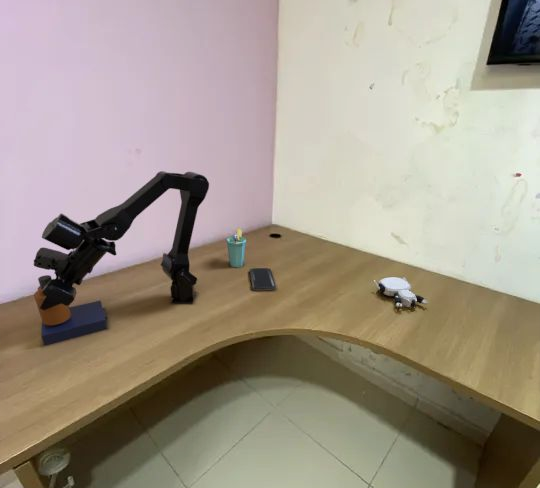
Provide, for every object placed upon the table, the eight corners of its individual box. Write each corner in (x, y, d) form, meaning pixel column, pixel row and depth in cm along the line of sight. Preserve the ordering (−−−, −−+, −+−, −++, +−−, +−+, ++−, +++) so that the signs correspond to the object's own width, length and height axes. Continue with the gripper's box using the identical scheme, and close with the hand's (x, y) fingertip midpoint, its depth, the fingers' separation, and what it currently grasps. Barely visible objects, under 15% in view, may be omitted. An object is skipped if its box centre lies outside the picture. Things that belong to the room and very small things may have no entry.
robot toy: (428, 310, 100) (400, 285, 112) (432, 299, 98) (403, 274, 110) (394, 314, 97) (370, 288, 110) (398, 303, 95) (373, 277, 107)
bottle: (75, 311, 84) (64, 272, 78) (62, 325, 78) (49, 284, 73) (52, 311, 83) (39, 271, 78) (37, 325, 78) (22, 283, 73)
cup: (245, 273, 116) (245, 236, 110) (224, 273, 116) (223, 235, 110) (246, 258, 129) (247, 224, 122) (228, 257, 129) (227, 223, 122)
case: (104, 308, 92) (102, 299, 91) (109, 328, 84) (107, 319, 82) (45, 322, 85) (42, 313, 84) (44, 345, 77) (41, 335, 75)
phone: (269, 268, 119) (275, 287, 105) (269, 270, 119) (275, 290, 106) (249, 268, 118) (252, 287, 104) (249, 271, 118) (252, 290, 105)
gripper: (61, 225, 80) (23, 268, 82) (41, 253, 65) (-6, 306, 66) (101, 250, 86) (65, 290, 87) (91, 281, 71) (48, 329, 72)
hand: (45, 302), depth 78 cm, fingers closed on bottle, 6 cm apart
